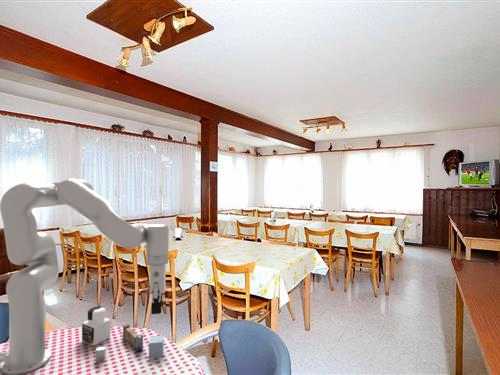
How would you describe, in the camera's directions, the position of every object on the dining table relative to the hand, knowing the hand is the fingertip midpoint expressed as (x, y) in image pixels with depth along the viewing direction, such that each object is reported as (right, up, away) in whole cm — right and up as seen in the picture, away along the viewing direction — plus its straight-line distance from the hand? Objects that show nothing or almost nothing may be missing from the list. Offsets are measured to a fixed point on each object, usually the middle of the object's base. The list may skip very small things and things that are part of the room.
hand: (156, 309), depth 100 cm
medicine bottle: (-26, -15, +9) cm, 32 cm away
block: (0, -15, 0) cm, 15 cm away
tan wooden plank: (-12, -15, +7) cm, 20 cm away
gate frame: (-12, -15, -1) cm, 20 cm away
